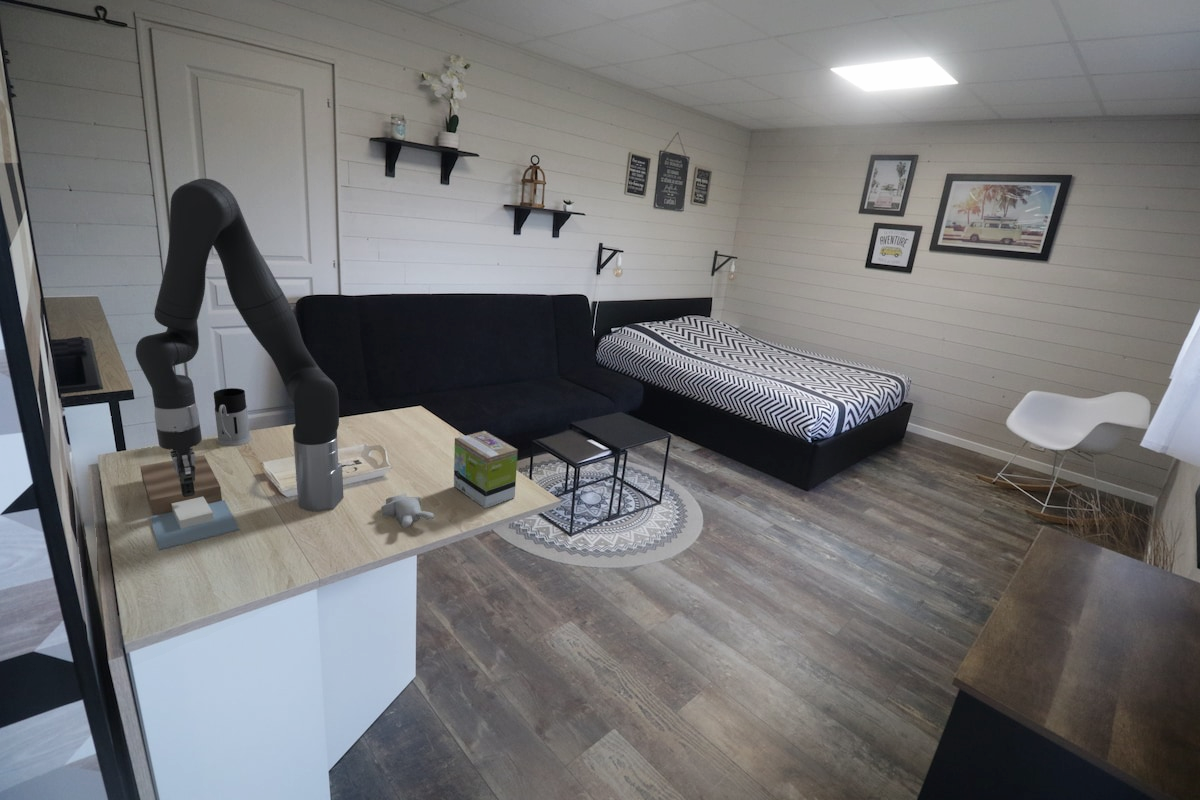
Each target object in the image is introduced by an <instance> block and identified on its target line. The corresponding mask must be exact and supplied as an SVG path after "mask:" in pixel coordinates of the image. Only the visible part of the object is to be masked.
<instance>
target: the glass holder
mask: <svg viewBox="0 0 1200 800" xmlns="http://www.w3.org/2000/svg"><path fill="white" fill-rule="evenodd" d="M245 391H246V390H245V389H242V388H236V387H235V388H234V387H233V388H223V389H218V390H216V391H214V392H213V401H214V415H215V422H216V430H217V440H216V445H219V446H222V447H237V446H238V447H239V446H243V445H246V444H249V443H250V442H251V441H252V440H253V438H252V436H251V432H250V422H249V412H248V405H247V401H246V392H245Z"/></svg>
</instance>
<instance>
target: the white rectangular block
mask: <svg viewBox="0 0 1200 800" xmlns="http://www.w3.org/2000/svg"><path fill="white" fill-rule="evenodd" d="M171 505H172V511H173V513H174V516H175V518H176V520H177V522H178V524H179V526H180V528H181V529H182V528H186V527H190V526H194V525H198V524H202V523H206V522H210V521H214V518H213V512H212V510H211V509H210V507H209V505H208V504H207V502H206V500H205V498H204V497H203V496H202V497H198V498H194V499H189V500H185V501H180V502H176V503H172V504H171Z"/></svg>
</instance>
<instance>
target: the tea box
mask: <svg viewBox="0 0 1200 800" xmlns="http://www.w3.org/2000/svg"><path fill="white" fill-rule="evenodd" d="M518 452H519V451H518V448H515V447H514V446H512V445H511V444H509V443H507V442H505V441H503V440H502V439H500V438H499V437H496V436H495V435H493V434H491V433H489V432H488V431H485V430H483V431H478V432H474V433H471V434H467V435H463V436H459V437H455V438H454V453H453V456H454V460H453V461H454V465H453V486H454V487H455V488H457V489H458V490H459V491H461V492H462V493H463V494H465V495H466V496H467V497H469V498H470V499H471V500H473V501H475V502H476V503H477V504H478V505H480V506H481V507H482V506H483V509H488V508H491V507H493V505H494V506H496V504H497V505H499V504H502V503H504V502H503V501H505V502H507V501H506V500H508V501H509V499H510V500H513V499H515V497H516V482H517V465H518ZM512 498H513V499H512ZM501 502H502V503H501ZM498 503H499V504H498ZM490 506H491V507H490Z"/></svg>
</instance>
